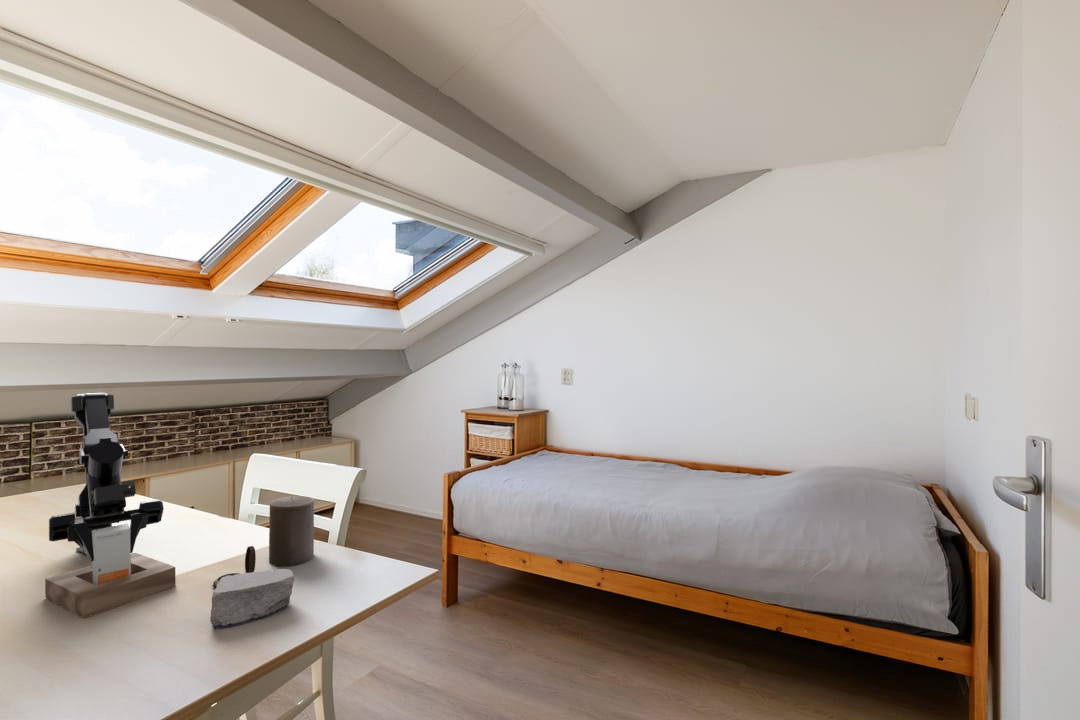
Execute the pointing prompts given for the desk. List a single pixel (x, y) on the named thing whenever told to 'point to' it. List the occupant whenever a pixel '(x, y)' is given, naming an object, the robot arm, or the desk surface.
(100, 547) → the skincare box
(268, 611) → the decorative stone
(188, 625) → the desk surface
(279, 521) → the pillar candle
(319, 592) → the desk surface
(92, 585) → the holder block
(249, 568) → the dark brown curved piece
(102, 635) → the desk surface
